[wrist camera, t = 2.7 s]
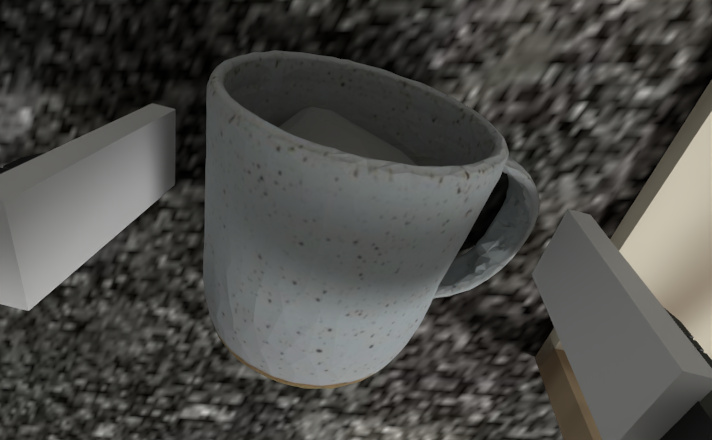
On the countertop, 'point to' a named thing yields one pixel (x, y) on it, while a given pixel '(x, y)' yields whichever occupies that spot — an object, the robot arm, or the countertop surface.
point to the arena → (656, 258)
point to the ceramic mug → (343, 211)
